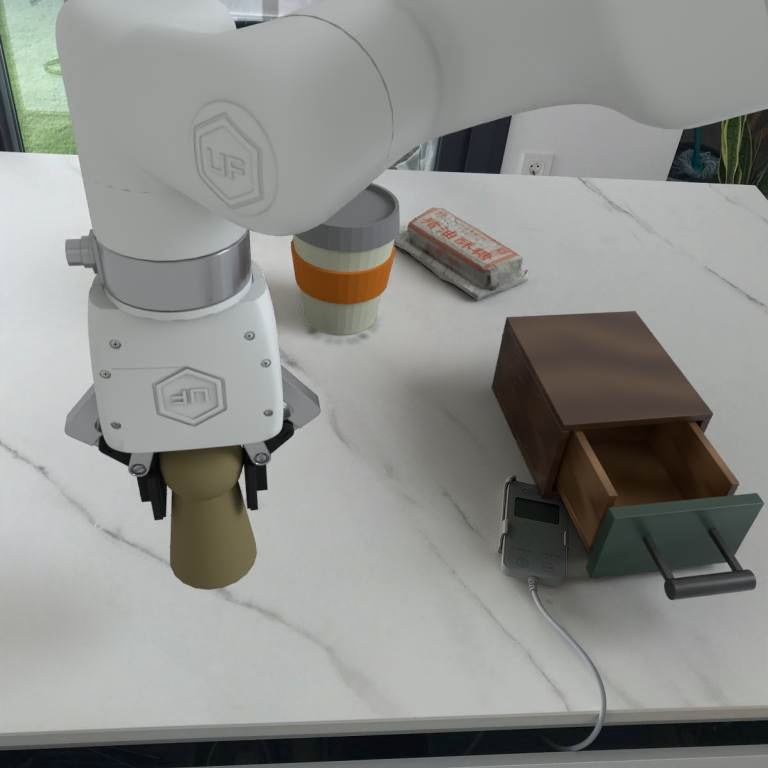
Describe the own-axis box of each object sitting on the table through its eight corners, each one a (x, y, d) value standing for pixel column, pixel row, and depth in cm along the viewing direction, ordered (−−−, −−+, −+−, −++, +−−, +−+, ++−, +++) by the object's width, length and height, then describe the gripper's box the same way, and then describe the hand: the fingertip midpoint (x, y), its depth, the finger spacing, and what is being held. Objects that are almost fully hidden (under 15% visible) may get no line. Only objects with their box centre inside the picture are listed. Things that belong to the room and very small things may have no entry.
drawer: (767, 619, 64) (807, 560, 59) (618, 639, 62) (647, 579, 57) (652, 441, 80) (676, 383, 75) (530, 451, 78) (546, 392, 73)
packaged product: (537, 250, 101) (483, 272, 96) (529, 282, 104) (477, 304, 99) (445, 196, 112) (391, 212, 106) (440, 226, 115) (388, 244, 109)
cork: (228, 508, 58) (217, 395, 51) (273, 560, 54) (268, 447, 48) (154, 547, 55) (131, 432, 48) (196, 605, 51) (178, 490, 44)
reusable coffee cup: (371, 280, 102) (379, 173, 92) (405, 335, 93) (418, 222, 83) (277, 292, 98) (276, 181, 88) (304, 351, 89) (305, 234, 79)
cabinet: (680, 485, 77) (713, 413, 71) (541, 499, 74) (564, 425, 68) (611, 379, 89) (635, 310, 83) (491, 387, 86) (506, 316, 80)
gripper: (-18, 306, 35) (62, 559, 47) (353, 287, 38) (343, 529, 50) (11, 228, 41) (76, 471, 52) (332, 217, 44) (328, 448, 55)
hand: (206, 497), depth 51 cm, fingers closed on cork, 5 cm apart
